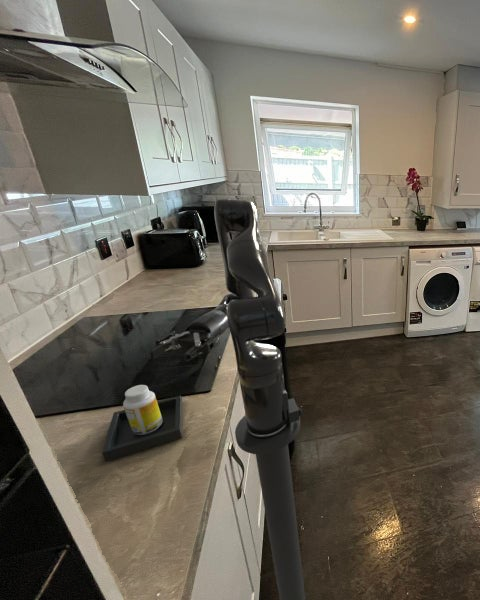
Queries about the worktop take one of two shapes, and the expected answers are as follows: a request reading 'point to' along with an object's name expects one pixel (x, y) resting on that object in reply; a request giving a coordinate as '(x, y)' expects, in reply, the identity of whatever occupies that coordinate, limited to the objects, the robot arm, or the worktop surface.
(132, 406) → the supplement bottle
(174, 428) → the shallow tray
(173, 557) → the worktop surface
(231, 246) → the robot arm
